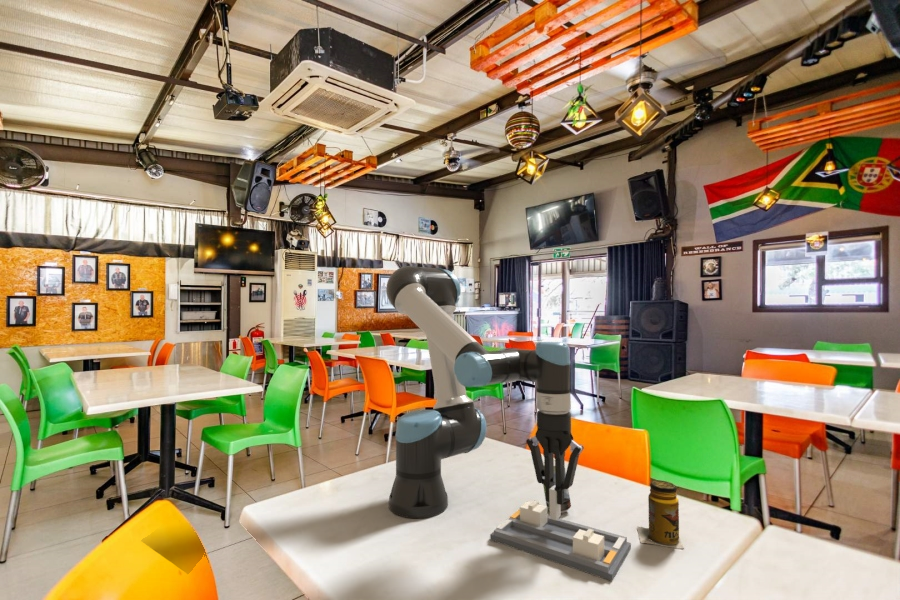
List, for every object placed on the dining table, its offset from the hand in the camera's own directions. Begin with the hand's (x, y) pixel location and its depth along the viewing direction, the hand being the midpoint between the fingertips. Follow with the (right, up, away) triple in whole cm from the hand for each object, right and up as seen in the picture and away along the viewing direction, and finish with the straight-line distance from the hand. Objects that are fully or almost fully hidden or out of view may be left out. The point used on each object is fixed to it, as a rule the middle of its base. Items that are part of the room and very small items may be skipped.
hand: (555, 517), depth 100 cm
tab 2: (-4, -3, +3) cm, 6 cm away
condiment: (+23, -4, -1) cm, 23 cm away
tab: (+4, -2, -11) cm, 12 cm away
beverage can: (+3, -5, +13) cm, 14 cm away
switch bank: (0, -4, -4) cm, 6 cm away
